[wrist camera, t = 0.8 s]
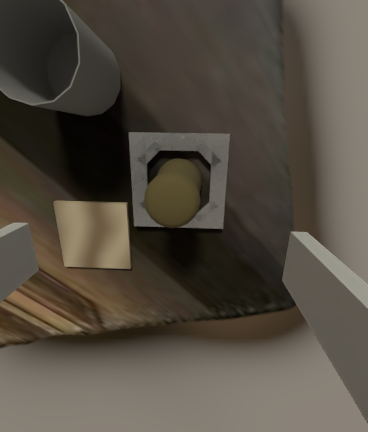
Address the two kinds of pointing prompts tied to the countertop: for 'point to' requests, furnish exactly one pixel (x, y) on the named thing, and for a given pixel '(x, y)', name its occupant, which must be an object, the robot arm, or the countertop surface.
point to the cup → (54, 59)
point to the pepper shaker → (174, 193)
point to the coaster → (94, 234)
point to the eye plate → (204, 143)
